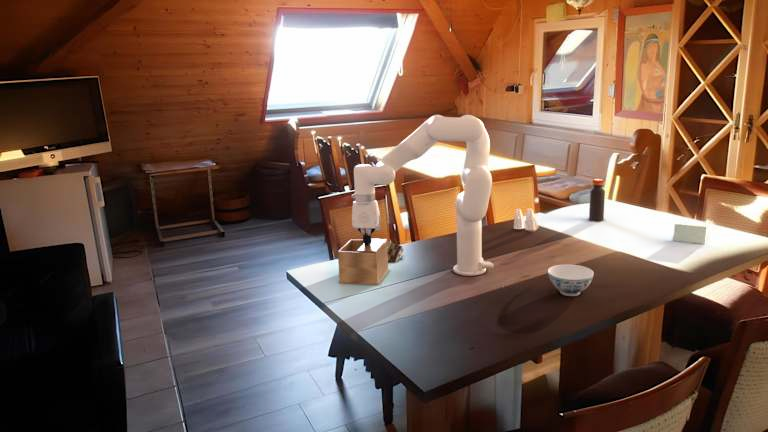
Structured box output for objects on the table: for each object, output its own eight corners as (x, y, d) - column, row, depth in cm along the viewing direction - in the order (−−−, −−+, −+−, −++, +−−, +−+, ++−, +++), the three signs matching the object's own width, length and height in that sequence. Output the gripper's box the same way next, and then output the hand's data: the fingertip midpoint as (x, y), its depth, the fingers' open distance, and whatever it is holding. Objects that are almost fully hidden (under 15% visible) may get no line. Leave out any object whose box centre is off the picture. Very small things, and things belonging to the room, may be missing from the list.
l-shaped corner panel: (707, 236, 261) (709, 219, 259) (704, 244, 251) (706, 226, 249) (677, 233, 267) (678, 217, 265) (673, 240, 257) (674, 223, 255)
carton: (388, 270, 236) (387, 240, 233) (377, 285, 222) (376, 253, 219) (352, 269, 240) (350, 239, 237) (339, 282, 226) (337, 251, 223)
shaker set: (539, 231, 279) (539, 208, 276) (533, 233, 276) (534, 210, 274) (518, 227, 288) (518, 204, 285) (512, 228, 285) (513, 206, 283)
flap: (386, 239, 233) (386, 239, 233) (375, 252, 219) (375, 251, 219) (368, 239, 235) (368, 238, 235) (356, 251, 221) (356, 250, 221)
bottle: (590, 221, 292) (591, 181, 287) (587, 217, 299) (589, 178, 294) (604, 221, 291) (606, 181, 286) (602, 217, 297) (604, 178, 292)
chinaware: (586, 304, 197) (587, 282, 195) (541, 296, 204) (542, 275, 203) (597, 288, 209) (598, 267, 207) (554, 282, 217) (555, 262, 215)
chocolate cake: (398, 265, 244) (407, 239, 249) (382, 260, 244) (391, 234, 250) (397, 273, 252) (406, 249, 257) (381, 268, 253) (390, 244, 258)
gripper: (343, 199, 221) (345, 246, 226) (381, 200, 217) (383, 248, 222) (349, 195, 228) (352, 240, 233) (387, 195, 224) (389, 242, 229)
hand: (367, 244), depth 227 cm, fingers closed
